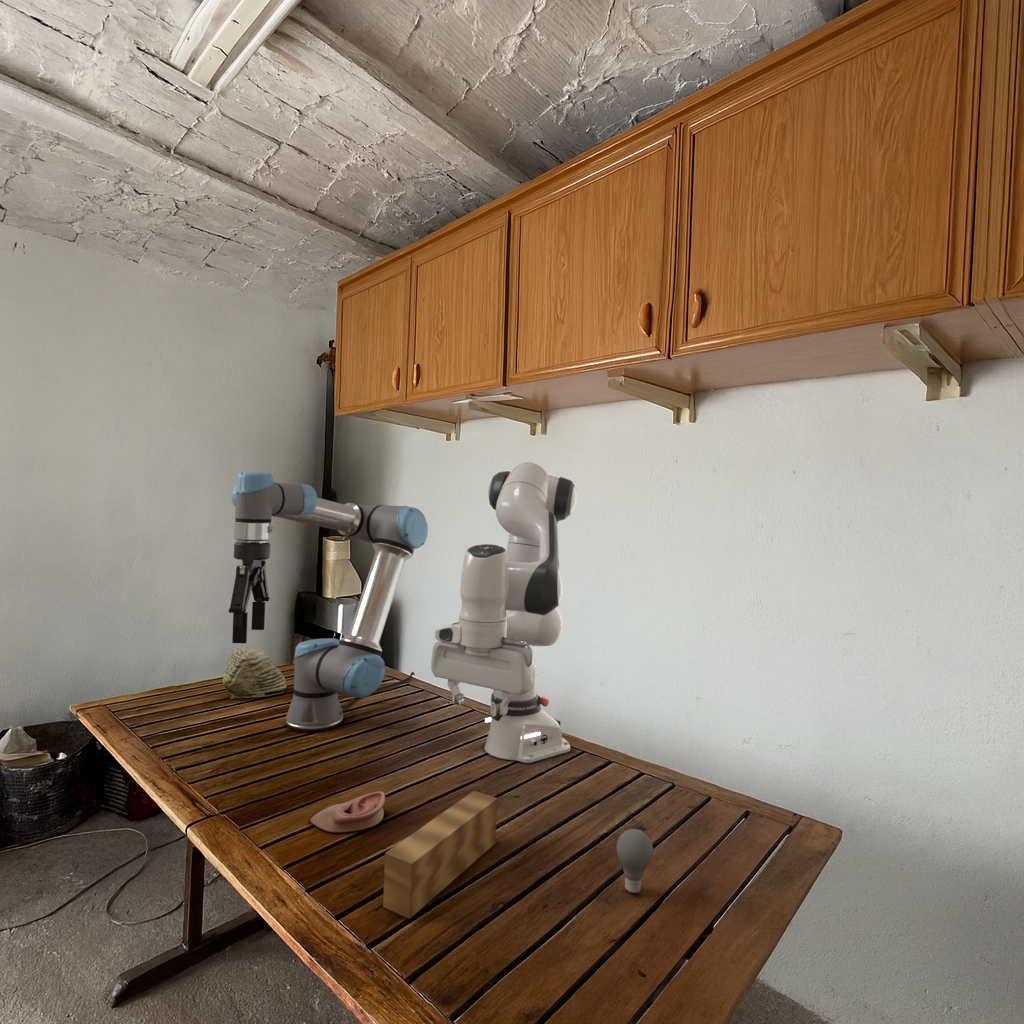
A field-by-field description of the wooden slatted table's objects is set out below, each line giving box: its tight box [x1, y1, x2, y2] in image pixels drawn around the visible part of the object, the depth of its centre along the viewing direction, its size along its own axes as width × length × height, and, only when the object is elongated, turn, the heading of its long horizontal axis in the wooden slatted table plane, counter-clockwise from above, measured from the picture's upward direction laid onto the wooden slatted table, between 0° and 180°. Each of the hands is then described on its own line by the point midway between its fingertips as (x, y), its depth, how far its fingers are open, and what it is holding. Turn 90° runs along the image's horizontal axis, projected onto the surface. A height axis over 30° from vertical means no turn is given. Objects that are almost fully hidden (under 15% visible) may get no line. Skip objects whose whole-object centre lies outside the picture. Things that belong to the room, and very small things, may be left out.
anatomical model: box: [310, 790, 386, 833], centre depth 125 cm, size 13×4×12 cm
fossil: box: [222, 646, 288, 699], centre depth 198 cm, size 9×18×15 cm, turn 132°
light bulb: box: [615, 828, 654, 894], centre depth 106 cm, size 6×6×10 cm
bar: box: [382, 790, 498, 919], centre depth 109 cm, size 26×5×9 cm, turn 151°
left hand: (249, 636), depth 142 cm, fingers open, 13 cm apart
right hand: (479, 708), depth 116 cm, fingers open, 8 cm apart
